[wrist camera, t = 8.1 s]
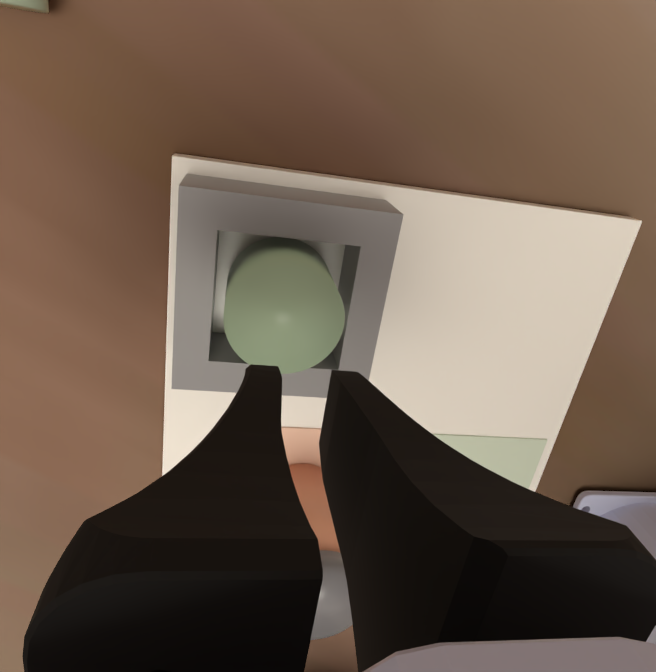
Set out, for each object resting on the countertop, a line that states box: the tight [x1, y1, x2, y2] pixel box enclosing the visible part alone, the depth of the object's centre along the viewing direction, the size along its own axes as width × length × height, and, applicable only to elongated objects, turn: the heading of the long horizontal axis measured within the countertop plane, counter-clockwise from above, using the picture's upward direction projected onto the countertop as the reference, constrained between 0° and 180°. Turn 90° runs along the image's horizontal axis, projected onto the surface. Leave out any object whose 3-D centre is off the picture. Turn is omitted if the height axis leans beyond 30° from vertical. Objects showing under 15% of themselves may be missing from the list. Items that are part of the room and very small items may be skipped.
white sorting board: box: [162, 153, 642, 492], centre depth 22 cm, size 20×18×3 cm
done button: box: [224, 237, 345, 374], centre depth 18 cm, size 4×4×3 cm
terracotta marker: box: [289, 463, 353, 640], centre depth 21 cm, size 3×3×6 cm
